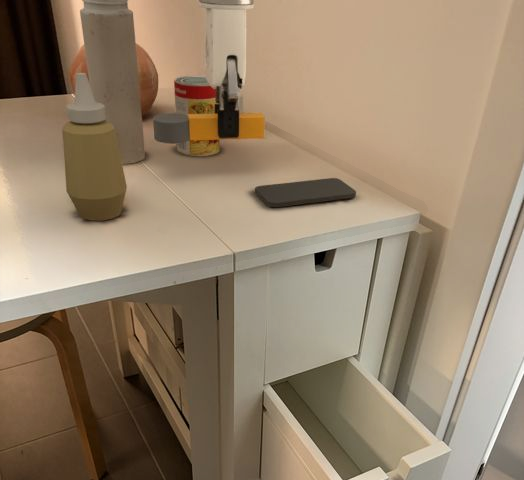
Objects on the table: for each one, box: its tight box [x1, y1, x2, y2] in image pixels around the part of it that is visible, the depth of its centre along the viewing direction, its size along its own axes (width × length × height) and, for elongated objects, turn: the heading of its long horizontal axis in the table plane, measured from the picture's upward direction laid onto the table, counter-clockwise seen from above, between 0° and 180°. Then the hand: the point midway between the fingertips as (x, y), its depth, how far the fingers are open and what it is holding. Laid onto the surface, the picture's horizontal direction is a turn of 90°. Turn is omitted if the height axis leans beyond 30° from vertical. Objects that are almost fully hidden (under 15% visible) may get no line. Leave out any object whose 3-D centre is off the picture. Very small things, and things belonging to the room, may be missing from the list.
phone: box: [254, 177, 357, 208], centre depth 87 cm, size 7×1×15 cm
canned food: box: [173, 74, 221, 157], centre depth 100 cm, size 8×8×12 cm
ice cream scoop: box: [152, 112, 266, 144], centre depth 85 cm, size 17×6×3 cm, turn 102°
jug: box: [68, 42, 159, 120], centre depth 115 cm, size 18×18×20 cm
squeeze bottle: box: [62, 73, 128, 221], centre depth 73 cm, size 8×8×18 cm
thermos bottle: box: [79, 0, 146, 165], centre depth 90 cm, size 8×8×28 cm
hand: (226, 133), depth 86 cm, fingers closed on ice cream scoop, 2 cm apart
